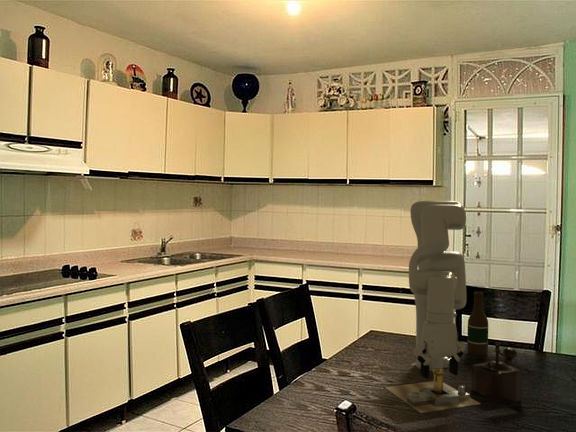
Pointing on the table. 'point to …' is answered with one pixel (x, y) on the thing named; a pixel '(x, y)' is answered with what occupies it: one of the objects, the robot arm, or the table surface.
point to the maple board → (409, 388)
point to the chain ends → (437, 397)
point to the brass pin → (438, 380)
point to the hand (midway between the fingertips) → (439, 375)
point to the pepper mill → (498, 377)
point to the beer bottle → (477, 328)
